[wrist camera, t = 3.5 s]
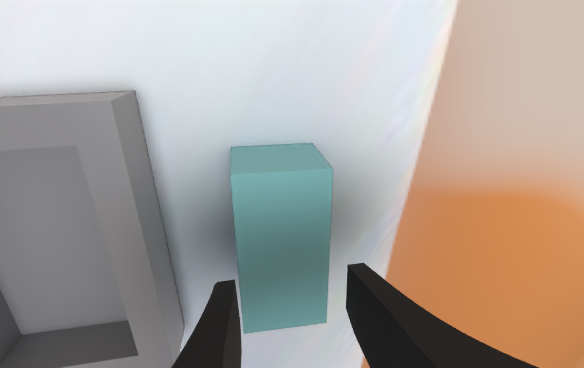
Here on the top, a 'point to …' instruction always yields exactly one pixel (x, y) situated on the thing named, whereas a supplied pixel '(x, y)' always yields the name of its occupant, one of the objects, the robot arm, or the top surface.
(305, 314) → the peg
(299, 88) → the top surface
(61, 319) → the socket block
